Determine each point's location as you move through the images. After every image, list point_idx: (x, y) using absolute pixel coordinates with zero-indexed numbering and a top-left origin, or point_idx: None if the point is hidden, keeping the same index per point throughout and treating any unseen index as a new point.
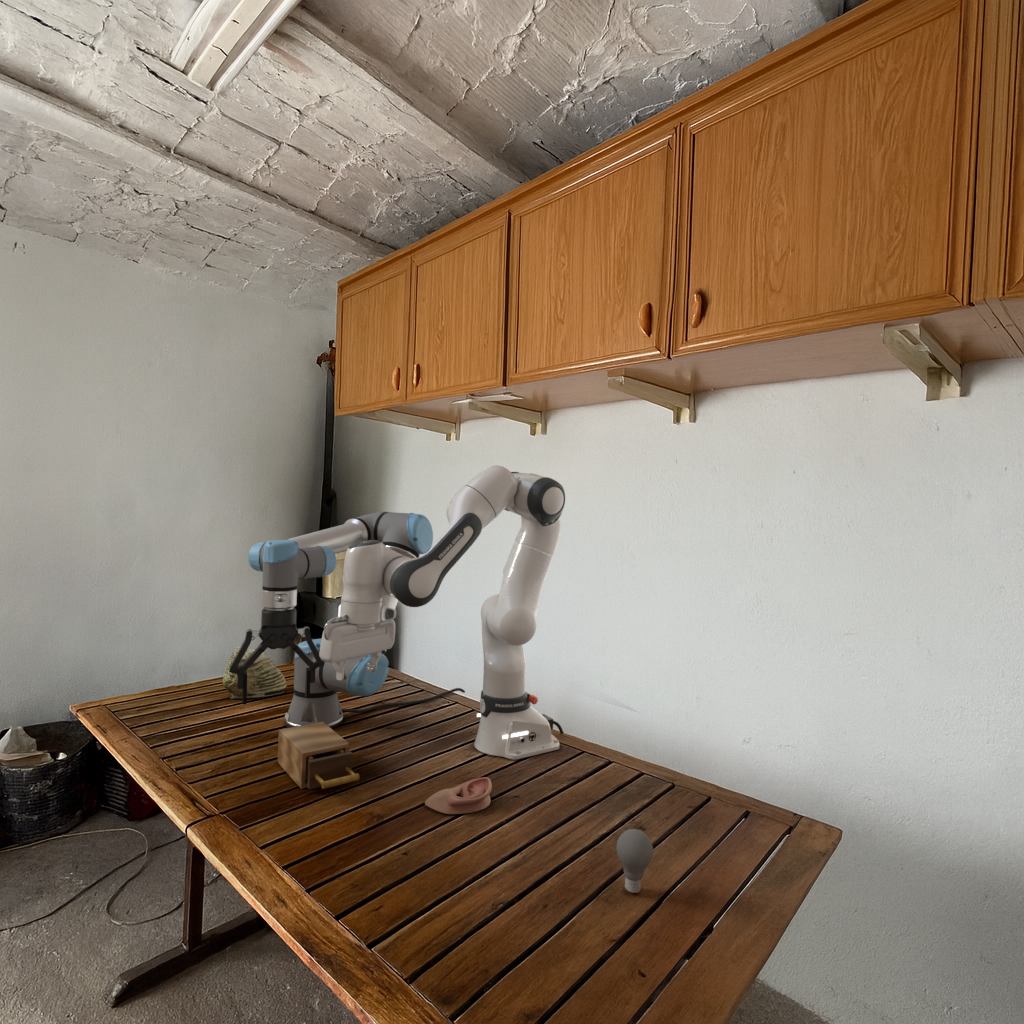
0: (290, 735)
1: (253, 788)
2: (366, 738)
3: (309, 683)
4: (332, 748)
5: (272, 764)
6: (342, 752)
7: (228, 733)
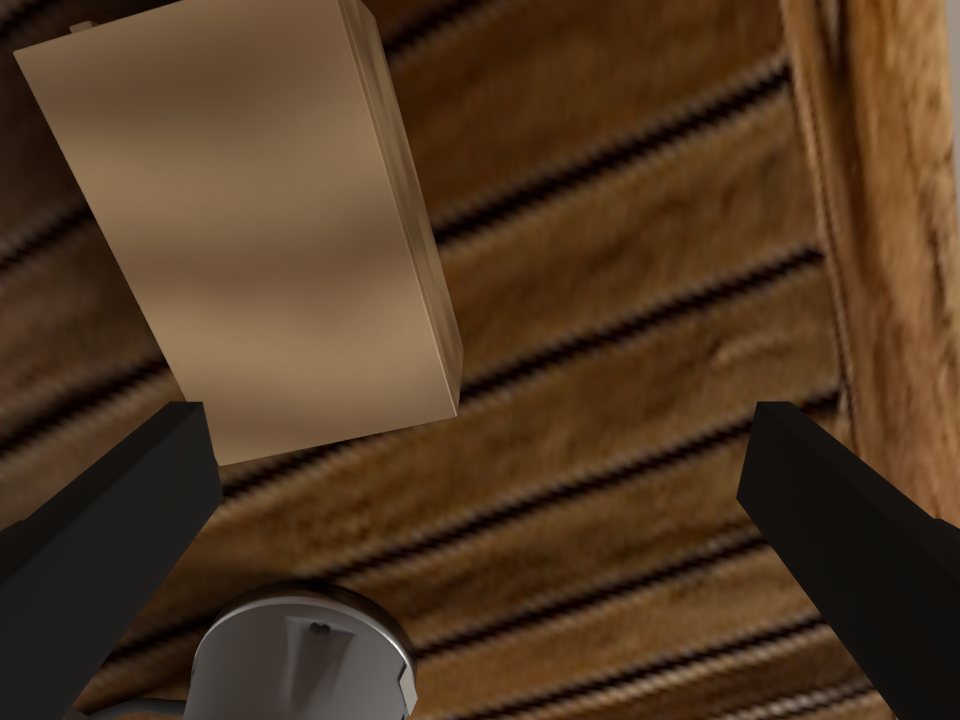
0: (396, 311)
1: (582, 106)
2: None
3: (66, 491)
4: (129, 18)
5: (484, 337)
6: (85, 25)
7: (615, 647)
